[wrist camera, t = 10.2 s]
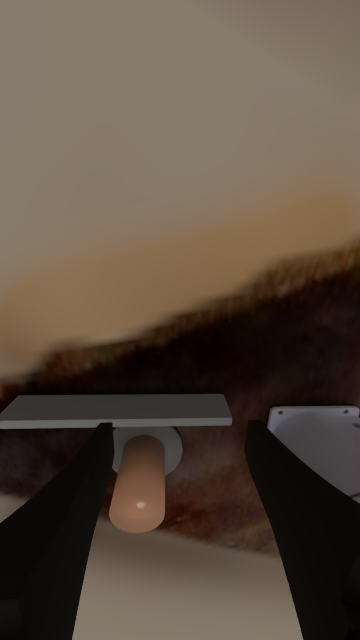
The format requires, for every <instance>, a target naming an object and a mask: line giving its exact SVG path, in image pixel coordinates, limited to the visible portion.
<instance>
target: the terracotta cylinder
mask: <svg viewBox="0 0 360 640" xmlns="http://www.w3.org/2000/svg"><path fill="white" fill-rule="evenodd" d="M164 515H165V447H164V445H163V443H162V442H161V441H160V440H159V439H157V438H155V437H153V436H149V435H139V436H136V437H133V438H131V439H130V440H128V441H127V443H126V444H125V445H124V448H123V452H122V457H121V461H120V466H119V471H118V475H117V480H116V484H115V489H114V493H113V498H112V502H111V507H110V512H109V516H110V520H111V521H112V523H113V524H114V525H115V526H116V527H117V528H119V529H121V530H123V531H126V532H130V533H143V532H147V531H150V530H152V529H154V528H156V527H157V526H158V525H159V524H160V523H161V522H162V521H163V519H164Z"/></svg>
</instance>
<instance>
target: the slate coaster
mask: <svg viewBox="0 0 360 640" xmlns="http://www.w3.org/2000/svg"><path fill="white" fill-rule="evenodd" d="M139 435H149V436H153V437H155V438H157V439H159V440H160V441H161V442H162V443H163V445H164V447H165V475H167V474H169V473H170V472H171V471H173V470H174V469H175V468H176V466H177V465H178V464H179V462H180V460H181V457H182V451H183V450H182V439H181V436H180V433H179V432H178V430H177V429H176V427H175V426H150V427H114V428H113V437H114V452H115V454H114V460H113V465H112V468H113V469H114V470H115V471H116V472H117V473H118V471H119V466H120V461H121V457H122V452H123V448H124V445H125V444H126V443H127V441H128V440H130V439H131V438H133V437H136V436H139Z"/></svg>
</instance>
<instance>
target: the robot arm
mask: <svg viewBox="0 0 360 640" xmlns="http://www.w3.org/2000/svg"><path fill="white" fill-rule="evenodd" d="M279 411H281V412H279ZM358 414H359V408H357V407H356V406H284V407H272V408H271V409H270V413H269V419H268V425H267V427H266V426H265V425H264V424H263V423H262V422H261V421H260V420H248V428H247V435H246V442H245V450H244V451H245V455H246V459H247V463H248V466H249V470H250V473H251V475H252V478H253V481H254V483H255V486H256V488H257V491H258V493H259V496H260V498H261V501H262V503H263V506H264V508H265V511H266V513H267V516H268V518H269V521H270V524H271V527H272V529H273V533H274V536H275V539H276V542H277V546H278V549H279V552H280V555H281V559H282V562H283V566H284V569H285V573H286V576H287V580H288V583H289V587H290V591H291V594H292V598H293V602H294V605H295V609H296V612H297V617H298V620H299V624H300V628H301V632H302V636H303V640H360V418H359V417H358ZM114 454H115V452H114V437H113V423H112V422H104V423H100V424H98V426H97V427H96V428H95V430H94V431H93V432H92V434H91V435H90V436H89V438H88V439H87V440H86V441H85V443H84V444H83V445H82V446H81V447H80V449H79V450H78V451H77V452H76V453H75V454H74V456H73V457H72V458H71V459H70V460H69V461H68V462H67V463H66V464H65V466H64V467H63V468H62V469H61V470H60V471H59V472H58V473H57V474H56V475H55V476H54V477H53V478H52V479H51V480H50V481H49V482H48V483H47V484H46V485H45V486H44V487H43V488H42V489H41V490H40V491H38V492H37V493H36V494H35V495H34V496H33V497H32V498H31V499H29V500H28V501H27V502H26V503H25V504H24V505H22V506H21V507H20V508H19V509H18V510H16V511H15V512H14V513H13V514H12V515H10V516H9V517H8V518H6V519H5V520H4V521H2V522H1V523H0V640H72V636H73V631H74V625H75V621H76V615H77V610H78V605H79V600H80V594H81V589H82V585H83V580H84V575H85V570H86V565H87V561H88V555H89V551H90V547H91V541H92V537H93V533H94V529H95V526H96V523H97V519H98V516H99V513H100V509H101V506H102V502H103V499H104V496H105V492H106V489H107V486H108V482H109V479H110V475H111V470H112V465H113V460H114Z"/></svg>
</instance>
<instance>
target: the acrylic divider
mask: <svg viewBox="0 0 360 640" xmlns="http://www.w3.org/2000/svg"><path fill="white" fill-rule="evenodd" d="M104 422H112V423H113V427H150V426H215V425H232V416H231V413H230V410H229V408H228V405H227V402H226V400H225V397H224V394H142V395H19V396H18V397H17V398H16V399H15V400H14V401H13V402H12V403H11V404H10V405H9V406H8V407H7V408H6V409H5V410H4V411H3V412H2V413H1V414H0V429H18V428H84V427H97V426H98V424H100V423H104Z"/></svg>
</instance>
